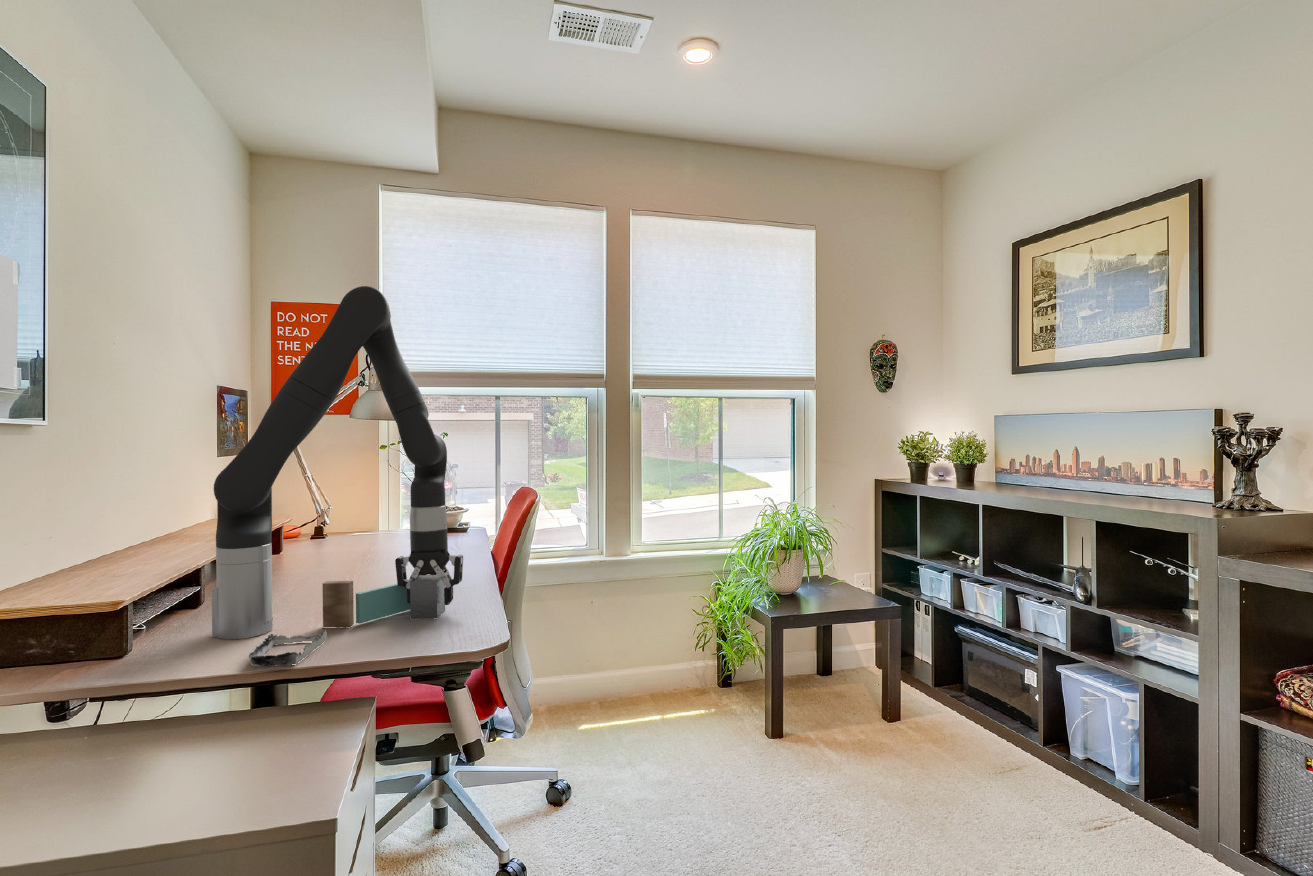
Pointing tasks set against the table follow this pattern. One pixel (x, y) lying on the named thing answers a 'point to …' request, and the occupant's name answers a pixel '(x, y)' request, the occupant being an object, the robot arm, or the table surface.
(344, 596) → the wall frame
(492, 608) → the table surface
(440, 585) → the block
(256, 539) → the robot arm
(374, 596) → the door
